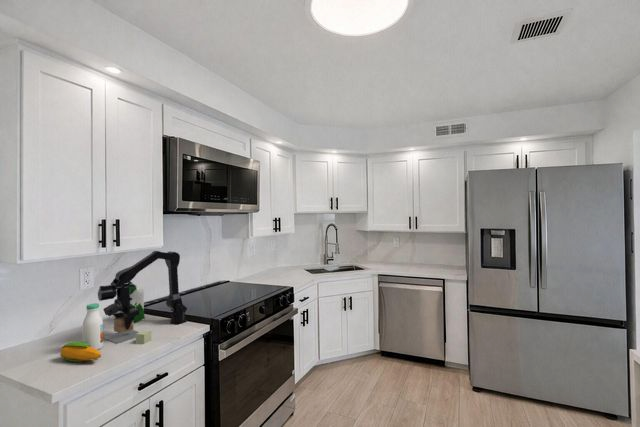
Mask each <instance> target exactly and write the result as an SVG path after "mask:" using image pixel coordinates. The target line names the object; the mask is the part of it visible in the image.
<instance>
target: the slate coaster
mask: <svg viewBox="0 0 640 427" xmlns="http://www.w3.org/2000/svg"><path fill="white" fill-rule="evenodd" d="M139 332H140V331H136V330H134V329H133V330H130V331H127V332H123V333H118V332H116V333H113V334H109V335H106V336H103V340H105V341H108V342H111V343H114V344H117V345H118V344H120V343H124V342H127V341H129V340H133V339H136V334H137V333H139Z"/></svg>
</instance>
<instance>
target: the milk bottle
mask: <svg viewBox="0 0 640 427" xmlns="http://www.w3.org/2000/svg"><path fill="white" fill-rule="evenodd" d="M85 307H86V314H85V317H84V318H83V321H82V326H81V327H82V328H81V329H82V331H81V332H82V333H81V334H82V335H81V338H82V339H81V340H82V341H81V342H84V343H87V344H89V345H90V347H93V348H95V349H96V350H98V351H100V350H101V349H102V348H103V347H104V339H103V337H104V319H103V318H102V315H101V314H100V311H99V309H100V303H90V304H87V305H86V306H85Z"/></svg>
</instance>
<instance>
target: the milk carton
mask: <svg viewBox="0 0 640 427" xmlns="http://www.w3.org/2000/svg"><path fill="white" fill-rule="evenodd" d="M145 290H146V287H137V285H135V286H133V287H130V298H132V300H130V306H132V308H131V309H133V308H136V309H139V310H140V315H137V316H135V318H134V320H133V323H139V322H140V321H143V320H145V304H144V303H145V299H144V298H145Z"/></svg>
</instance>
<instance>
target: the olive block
mask: <svg viewBox="0 0 640 427" xmlns="http://www.w3.org/2000/svg"><path fill="white" fill-rule="evenodd" d="M138 332H139V333H137V334H136V338H135V344H136V343H137V344H138V345H145V344H147V343H149V342H151V341H152V332H151V330H141V331H138ZM137 344H136V345H137Z"/></svg>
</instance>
